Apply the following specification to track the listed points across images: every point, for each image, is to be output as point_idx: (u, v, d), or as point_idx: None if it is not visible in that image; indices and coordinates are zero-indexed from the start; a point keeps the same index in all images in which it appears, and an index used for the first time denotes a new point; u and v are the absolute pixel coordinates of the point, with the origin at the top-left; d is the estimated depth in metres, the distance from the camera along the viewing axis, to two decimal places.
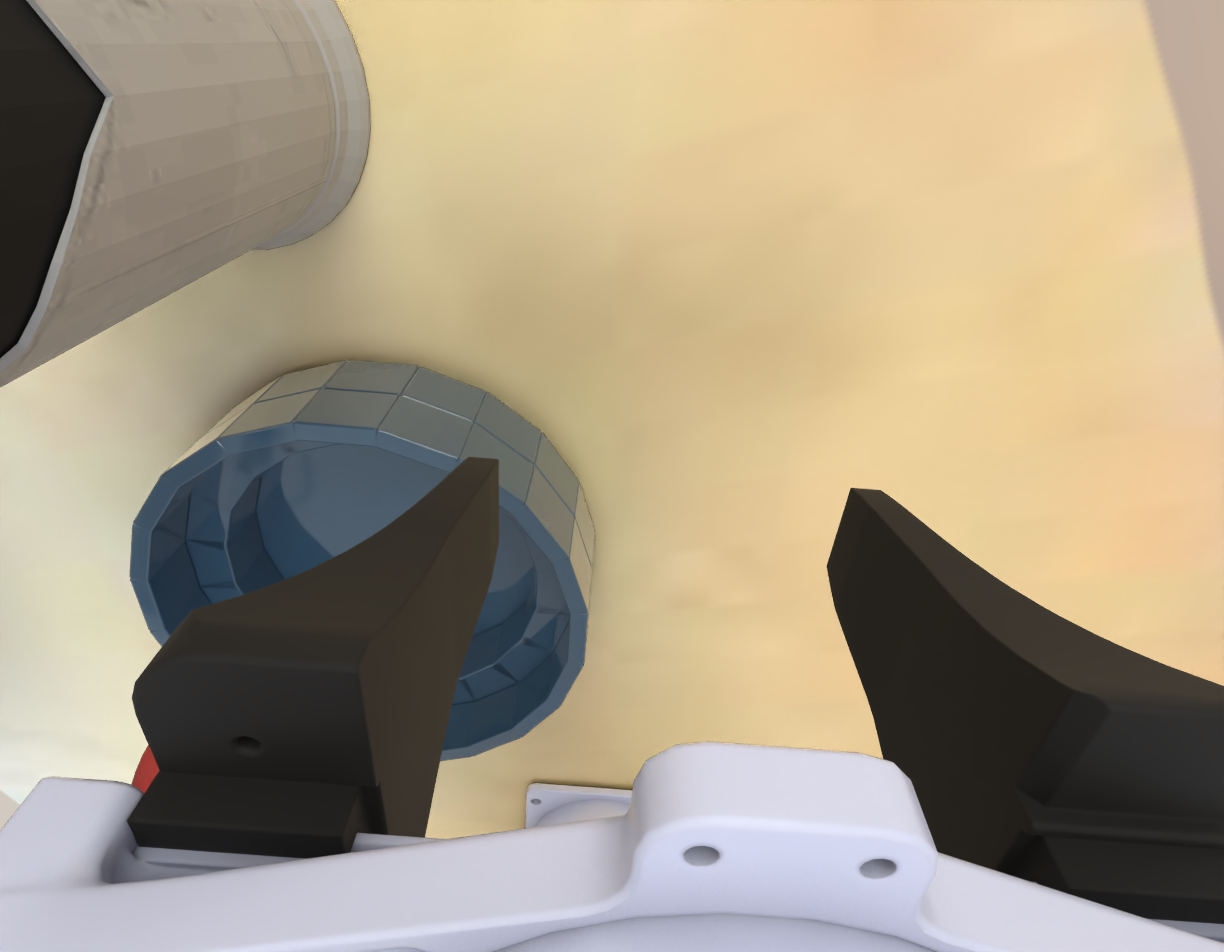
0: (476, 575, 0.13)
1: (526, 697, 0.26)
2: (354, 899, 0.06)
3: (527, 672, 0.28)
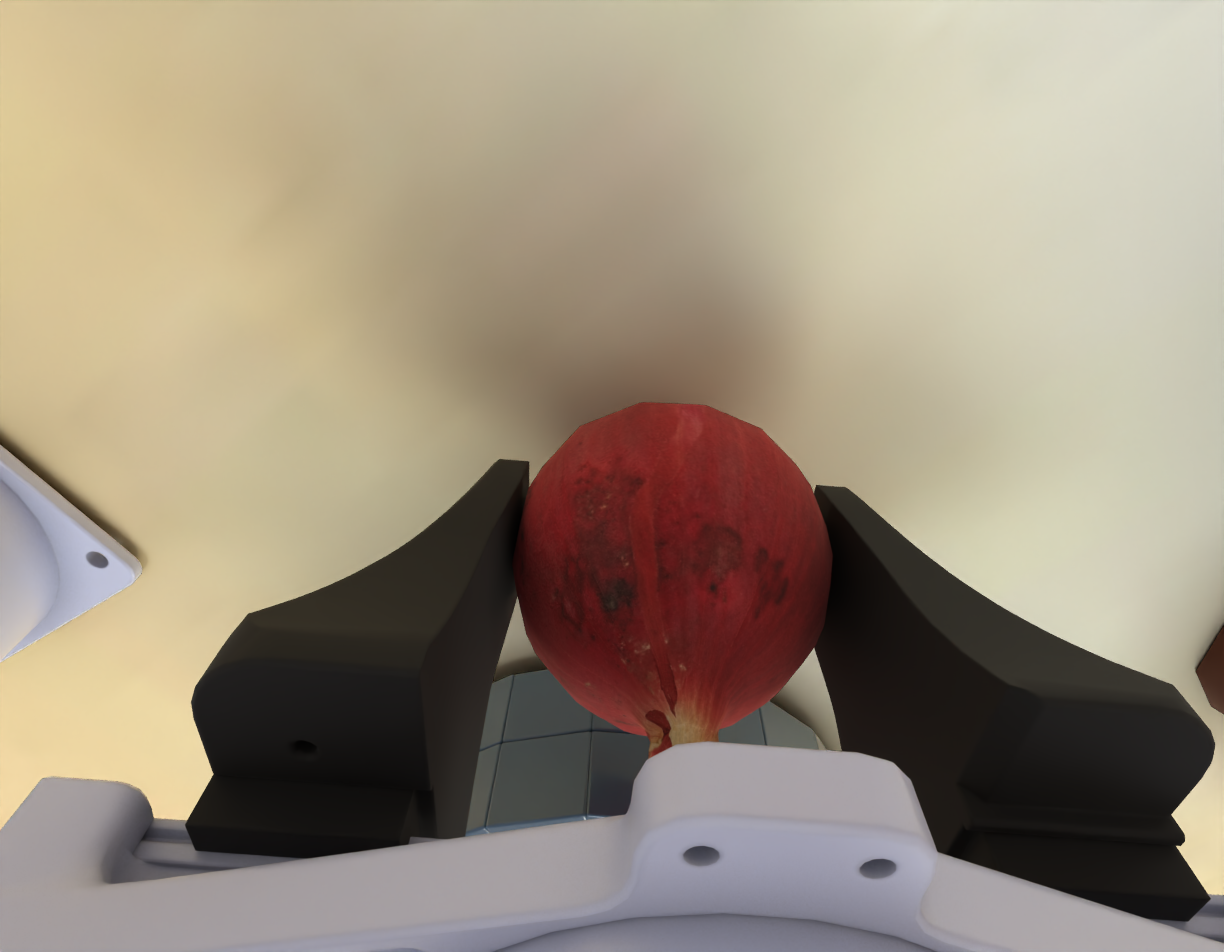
0: (509, 578, 0.13)
1: None
2: (354, 899, 0.06)
3: None
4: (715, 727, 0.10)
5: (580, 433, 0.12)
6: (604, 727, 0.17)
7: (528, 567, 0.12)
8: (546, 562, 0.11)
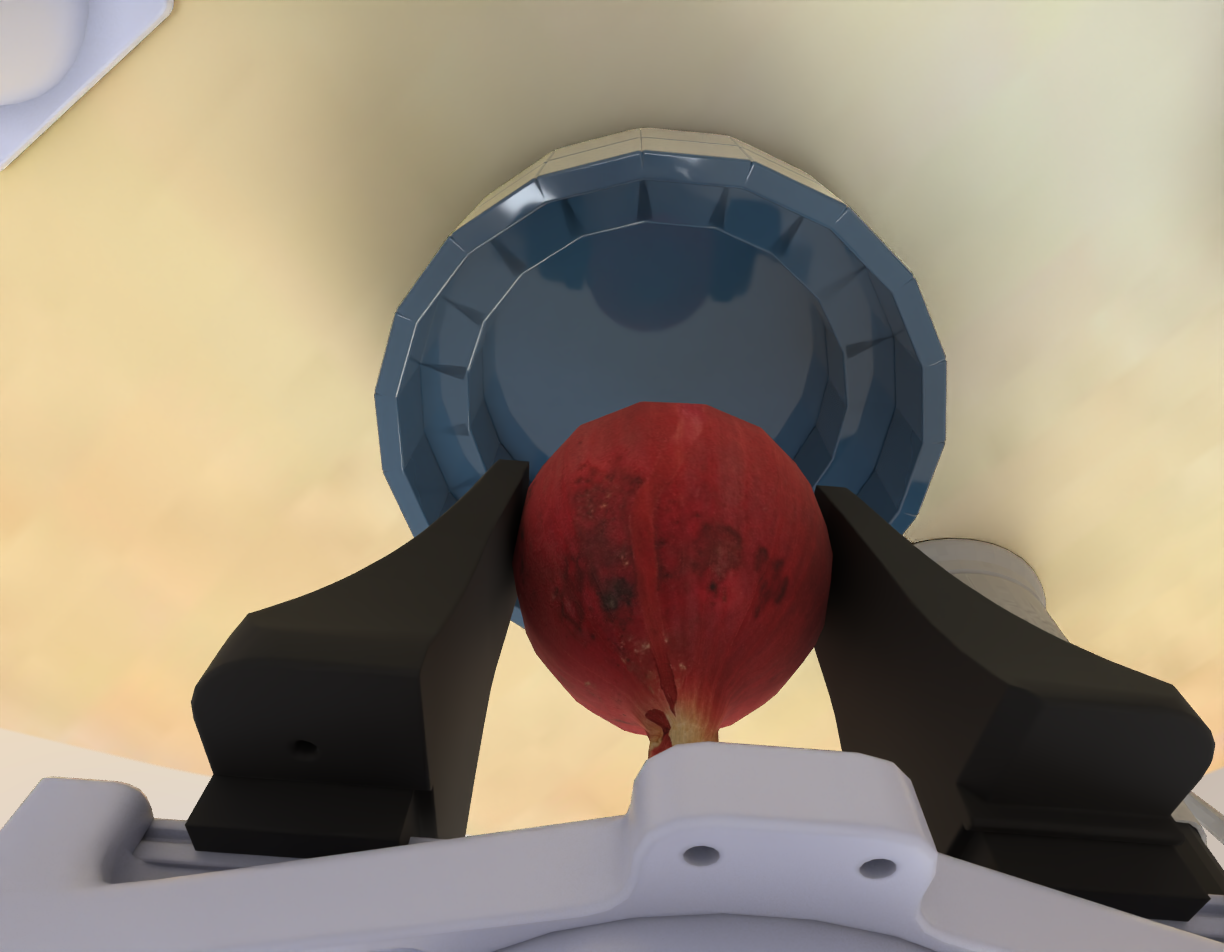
0: (509, 578, 0.13)
1: (410, 408, 0.19)
2: (354, 899, 0.06)
3: (424, 386, 0.20)
4: (715, 726, 0.10)
5: (580, 432, 0.12)
6: (654, 137, 0.17)
7: (528, 566, 0.12)
8: (546, 562, 0.11)
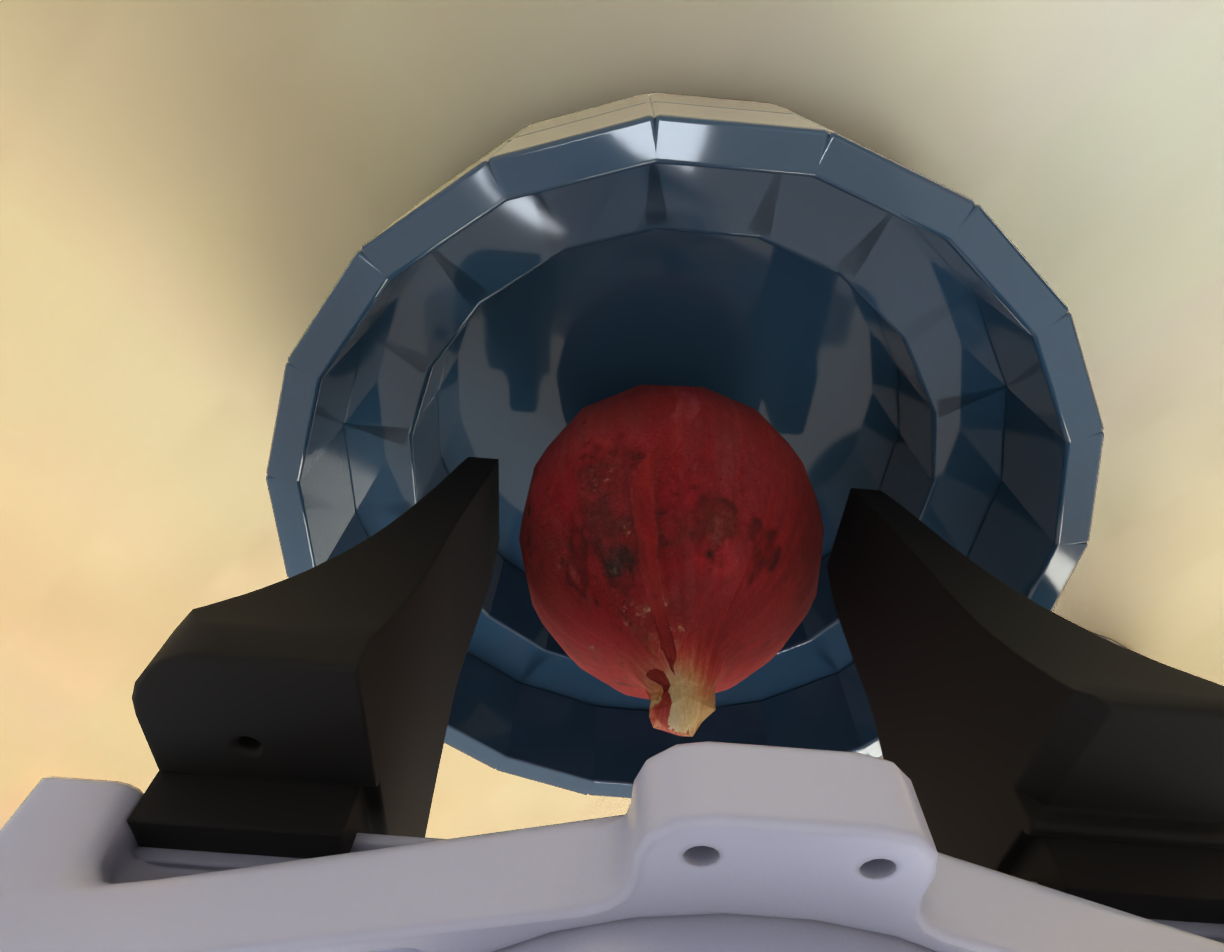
0: (476, 575, 0.13)
1: (326, 489, 0.14)
2: (354, 898, 0.06)
3: (351, 453, 0.15)
4: (712, 684, 0.10)
5: (584, 413, 0.13)
6: (671, 102, 0.11)
7: (535, 539, 0.12)
8: (552, 534, 0.12)
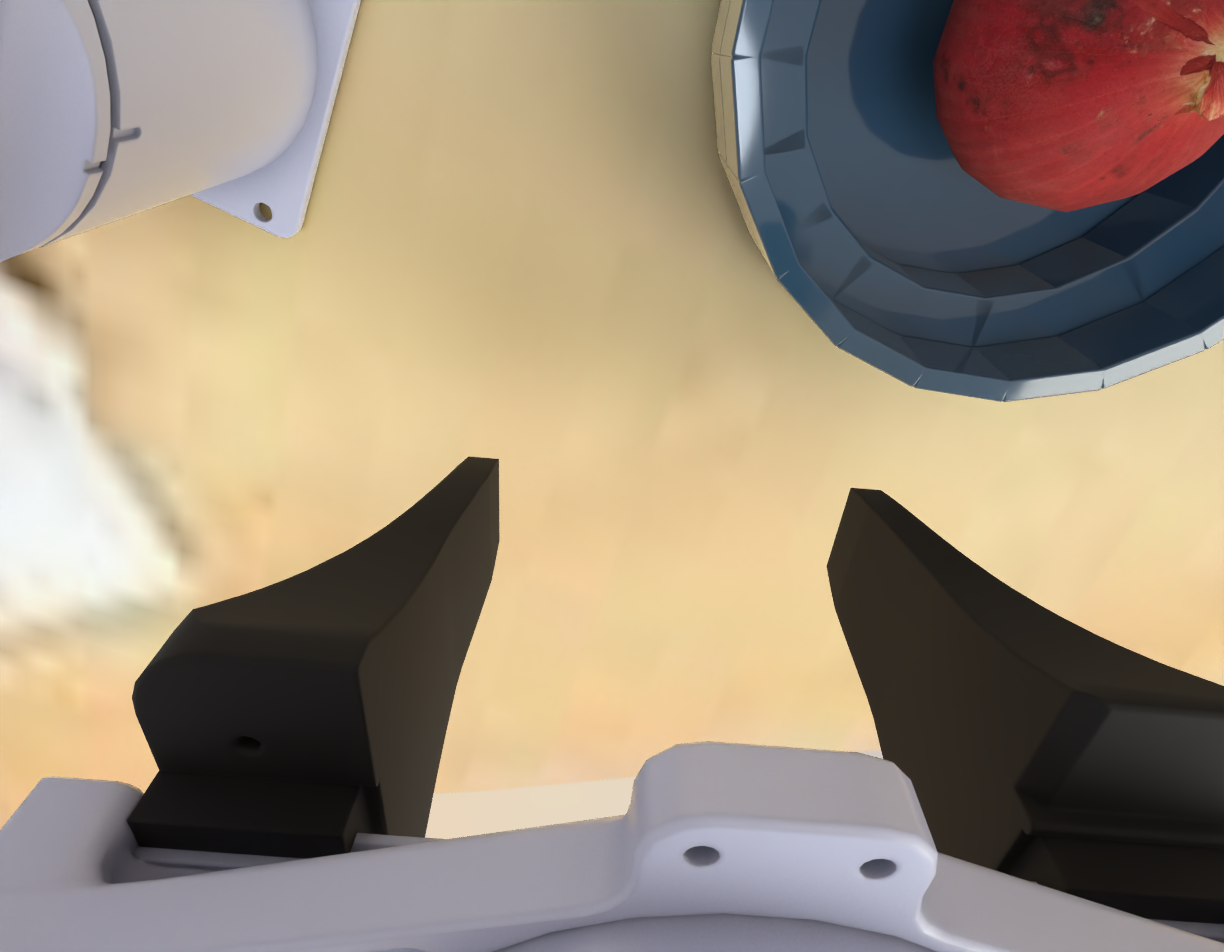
0: (476, 575, 0.13)
1: None
2: (354, 899, 0.06)
3: None
4: None
5: None
6: None
7: (985, 92, 0.14)
8: (1006, 62, 0.13)
